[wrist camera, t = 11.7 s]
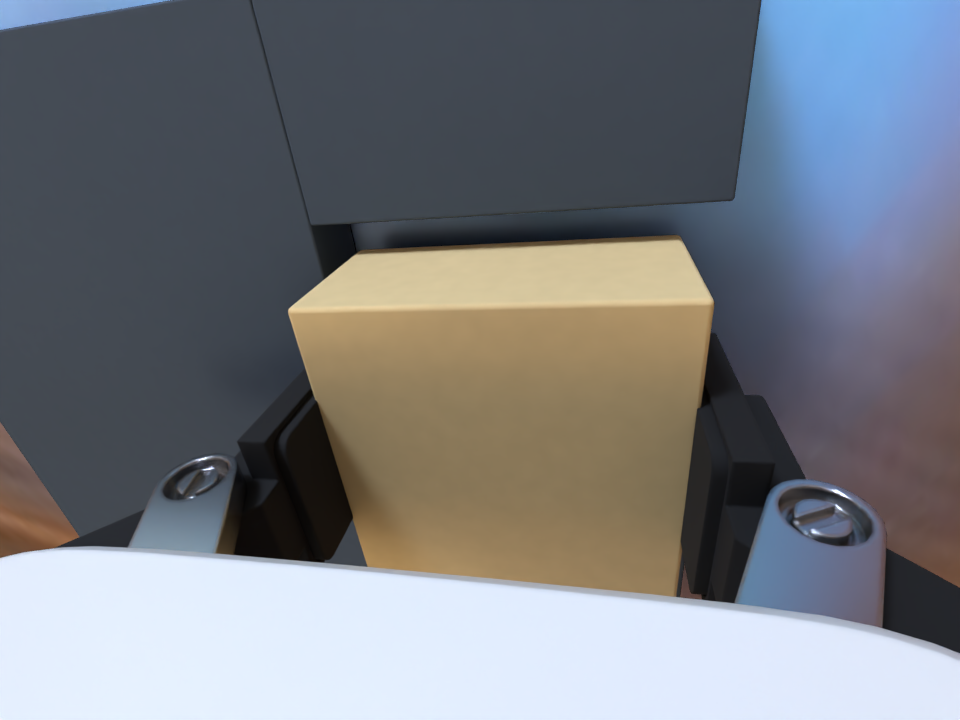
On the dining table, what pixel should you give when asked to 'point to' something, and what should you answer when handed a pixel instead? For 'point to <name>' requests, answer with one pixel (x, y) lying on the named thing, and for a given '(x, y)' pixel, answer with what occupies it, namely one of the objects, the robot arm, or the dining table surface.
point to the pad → (514, 405)
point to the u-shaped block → (299, 188)
